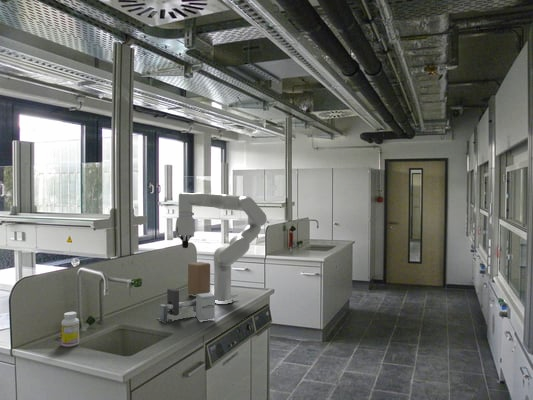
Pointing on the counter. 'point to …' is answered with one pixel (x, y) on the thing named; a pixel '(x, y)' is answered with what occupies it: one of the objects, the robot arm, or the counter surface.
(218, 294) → the robot arm
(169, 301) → the grey upright panel
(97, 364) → the counter surface
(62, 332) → the supplement bottle
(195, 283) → the block
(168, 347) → the counter surface
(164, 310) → the pipe rig
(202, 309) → the supplement box
